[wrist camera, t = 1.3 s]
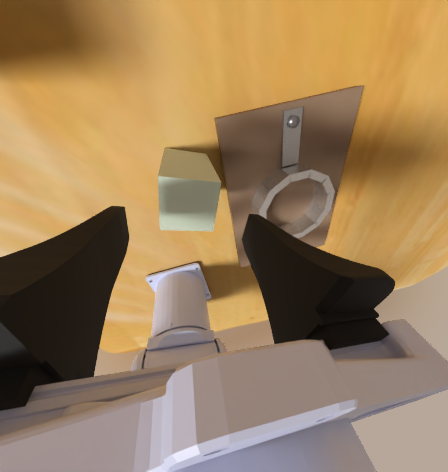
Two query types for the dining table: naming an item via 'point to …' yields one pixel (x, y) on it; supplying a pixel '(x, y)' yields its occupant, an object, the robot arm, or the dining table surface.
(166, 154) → the sage peg
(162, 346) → the robot arm
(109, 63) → the dining table surface
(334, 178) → the cup bracket
